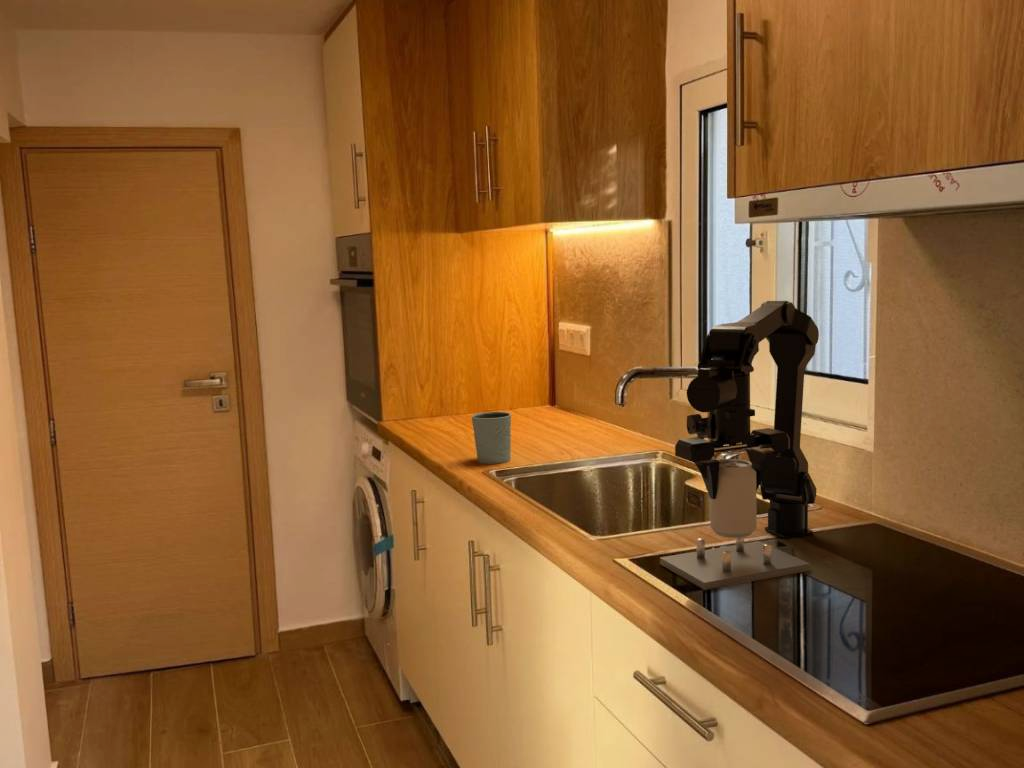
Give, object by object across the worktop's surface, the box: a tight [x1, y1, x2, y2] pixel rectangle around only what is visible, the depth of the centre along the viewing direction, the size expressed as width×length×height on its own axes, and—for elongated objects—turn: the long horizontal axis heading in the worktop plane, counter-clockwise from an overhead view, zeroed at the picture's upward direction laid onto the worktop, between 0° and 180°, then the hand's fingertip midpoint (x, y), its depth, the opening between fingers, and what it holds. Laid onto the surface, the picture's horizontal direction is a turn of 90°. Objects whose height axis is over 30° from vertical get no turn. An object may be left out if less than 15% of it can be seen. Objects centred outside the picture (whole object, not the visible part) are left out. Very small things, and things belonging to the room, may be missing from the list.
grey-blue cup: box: [471, 411, 512, 465], centre depth 252 cm, size 10×10×12 cm
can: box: [709, 458, 758, 539], centre depth 162 cm, size 8×8×12 cm
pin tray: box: [659, 537, 811, 591], centre depth 163 cm, size 20×14×4 cm
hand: (733, 495), depth 162 cm, fingers closed on can, 7 cm apart
